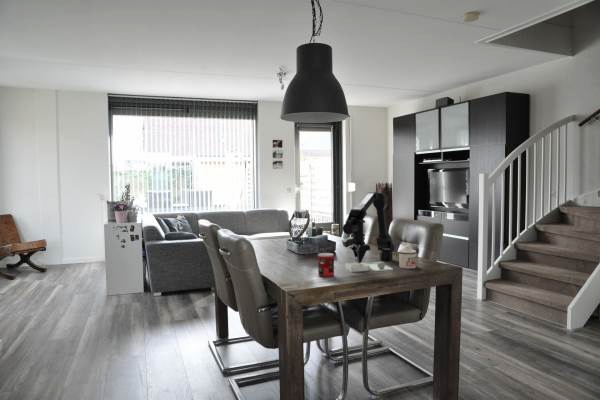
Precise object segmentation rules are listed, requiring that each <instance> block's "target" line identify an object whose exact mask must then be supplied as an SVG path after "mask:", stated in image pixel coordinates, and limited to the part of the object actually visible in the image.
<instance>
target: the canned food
mask: <svg viewBox="0 0 600 400" xmlns="http://www.w3.org/2000/svg"><path fill="white" fill-rule="evenodd" d="M317 270H318V271H317V273H318V276H319V277H320V278H332V277H334V276H335V255H334V253H332V252H320V253H317Z"/></svg>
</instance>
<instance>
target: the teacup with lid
mask: <svg viewBox="0 0 600 400" xmlns="http://www.w3.org/2000/svg"><path fill="white" fill-rule="evenodd" d="M398 255H399V257H398V258H399V259H398V260H399V268H401V269H415V268H417V262H418V260H419V254H418V253H417V251H416V250H415V249H413V248H411V247H410V246H409V245H406V246H405V247H403V249H400V250H399V251H398Z"/></svg>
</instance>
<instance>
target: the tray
mask: <svg viewBox="0 0 600 400" xmlns="http://www.w3.org/2000/svg"><path fill="white" fill-rule="evenodd" d="M379 262H380V261H376V262H375V261H374V262H364V263H365V264H367V265H369V266H370V270H372V271H374V272H386V271H387V272H388V271H394V267H393V268H392V267H390V266H388V265H386V264H385V267H384V269H379V268H378V266H377V264H378V263H379Z"/></svg>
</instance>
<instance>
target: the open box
mask: <svg viewBox="0 0 600 400" xmlns="http://www.w3.org/2000/svg"><path fill="white" fill-rule="evenodd" d="M365 263H366V262H363V261H362V262H361V263H360V264H357V263H355V262H346V263H344V269H346V270H347V271H349V272H351V273H357V272H369V271H370V270H371V269H370V266H369V265H367V264H365Z"/></svg>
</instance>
